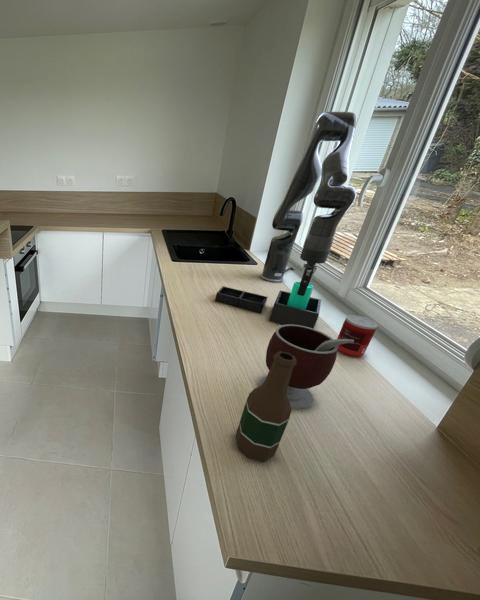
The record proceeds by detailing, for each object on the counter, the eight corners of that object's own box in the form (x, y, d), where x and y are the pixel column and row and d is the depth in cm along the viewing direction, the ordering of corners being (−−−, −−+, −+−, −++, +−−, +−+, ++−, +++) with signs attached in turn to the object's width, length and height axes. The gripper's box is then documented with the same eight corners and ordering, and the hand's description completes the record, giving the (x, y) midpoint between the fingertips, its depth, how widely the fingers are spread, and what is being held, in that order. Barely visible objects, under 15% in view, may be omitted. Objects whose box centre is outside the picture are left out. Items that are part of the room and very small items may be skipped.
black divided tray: (220, 294, 141) (222, 286, 139) (265, 305, 132) (267, 296, 130) (214, 301, 134) (216, 292, 133) (260, 313, 125) (263, 304, 123)
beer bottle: (227, 433, 72) (253, 344, 62) (259, 431, 73) (291, 343, 63) (246, 464, 65) (279, 370, 55) (282, 462, 66) (322, 368, 56)
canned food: (357, 346, 105) (371, 317, 101) (368, 360, 98) (383, 329, 94) (330, 342, 108) (342, 313, 103) (338, 355, 101) (352, 324, 96)
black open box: (274, 307, 130) (280, 290, 127) (314, 317, 123) (321, 299, 120) (268, 321, 120) (274, 303, 116) (311, 333, 113) (319, 314, 109)
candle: (307, 315, 117) (318, 284, 112) (289, 313, 118) (299, 283, 113) (300, 307, 122) (310, 278, 117) (283, 306, 123) (292, 277, 118)
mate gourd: (249, 394, 84) (270, 328, 75) (262, 369, 94) (282, 308, 85) (320, 424, 75) (353, 354, 66) (326, 393, 85) (356, 328, 76)
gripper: (329, 254, 102) (312, 301, 109) (330, 244, 113) (314, 288, 120) (302, 249, 106) (286, 295, 113) (305, 240, 117) (291, 283, 124)
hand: (301, 291), depth 117 cm, fingers closed on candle, 6 cm apart
